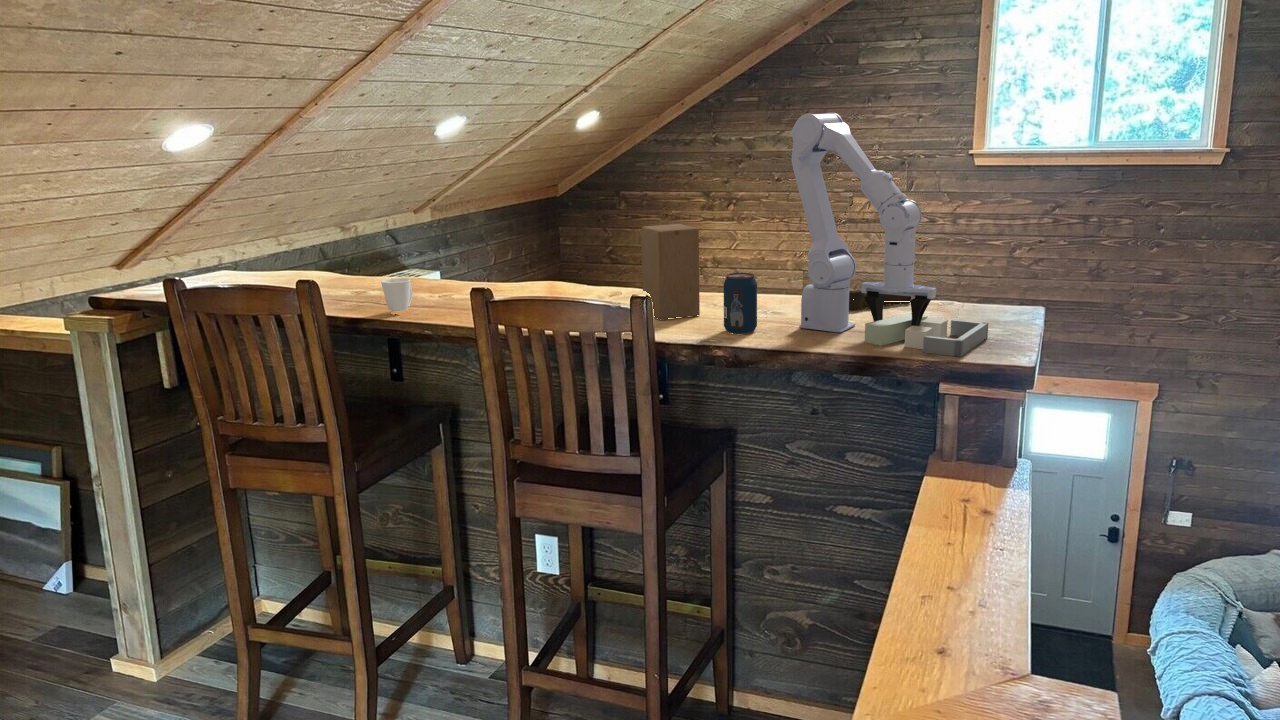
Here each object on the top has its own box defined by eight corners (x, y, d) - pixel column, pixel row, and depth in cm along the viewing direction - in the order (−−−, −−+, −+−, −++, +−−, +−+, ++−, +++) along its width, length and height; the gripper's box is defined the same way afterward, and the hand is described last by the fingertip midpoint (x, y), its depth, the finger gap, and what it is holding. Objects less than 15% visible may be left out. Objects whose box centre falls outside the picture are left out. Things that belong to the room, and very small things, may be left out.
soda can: (750, 326, 205) (750, 271, 202) (761, 333, 199) (761, 276, 195) (719, 329, 204) (719, 273, 201) (729, 336, 197) (729, 278, 194)
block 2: (920, 338, 191) (921, 321, 191) (927, 334, 195) (927, 317, 194) (940, 341, 189) (941, 323, 188) (946, 336, 192) (947, 319, 191)
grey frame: (922, 352, 181) (923, 336, 180) (952, 333, 194) (953, 319, 193) (960, 356, 177) (961, 341, 176) (987, 337, 190) (988, 322, 189)
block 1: (904, 347, 185) (905, 329, 184) (912, 342, 188) (912, 325, 187) (924, 349, 183) (925, 331, 182) (932, 345, 186) (932, 327, 185)
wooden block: (700, 316, 216) (699, 227, 211) (659, 321, 213) (657, 231, 208) (682, 308, 225) (680, 223, 220) (642, 313, 222) (640, 226, 217)
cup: (378, 316, 227) (374, 282, 225) (399, 307, 236) (396, 275, 234) (404, 317, 225) (401, 283, 223) (425, 308, 234) (422, 275, 232)
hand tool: (901, 302, 227) (902, 282, 226) (912, 305, 223) (913, 285, 222) (832, 310, 220) (833, 290, 219) (842, 313, 217) (842, 293, 215)
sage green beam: (864, 343, 190) (865, 323, 189) (910, 332, 198) (911, 313, 197) (880, 346, 187) (881, 326, 186) (926, 335, 195) (927, 316, 193)
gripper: (856, 263, 189) (854, 330, 193) (928, 269, 181) (925, 339, 184) (870, 258, 195) (867, 323, 198) (940, 263, 187) (937, 331, 190)
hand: (896, 330), depth 192 cm, fingers open, 7 cm apart
